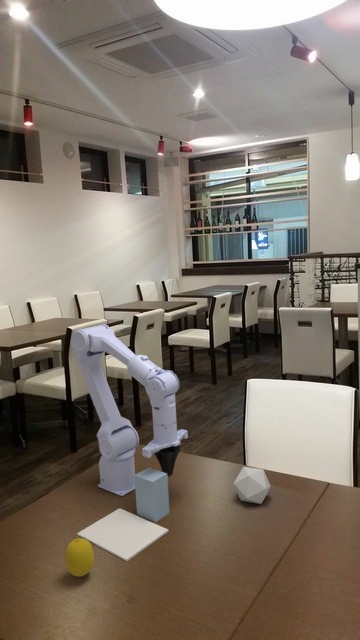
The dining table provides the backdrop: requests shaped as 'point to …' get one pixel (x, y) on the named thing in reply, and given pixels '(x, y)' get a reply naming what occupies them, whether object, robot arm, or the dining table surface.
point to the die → (252, 485)
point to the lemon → (79, 557)
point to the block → (152, 494)
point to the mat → (123, 533)
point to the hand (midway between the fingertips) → (167, 474)
